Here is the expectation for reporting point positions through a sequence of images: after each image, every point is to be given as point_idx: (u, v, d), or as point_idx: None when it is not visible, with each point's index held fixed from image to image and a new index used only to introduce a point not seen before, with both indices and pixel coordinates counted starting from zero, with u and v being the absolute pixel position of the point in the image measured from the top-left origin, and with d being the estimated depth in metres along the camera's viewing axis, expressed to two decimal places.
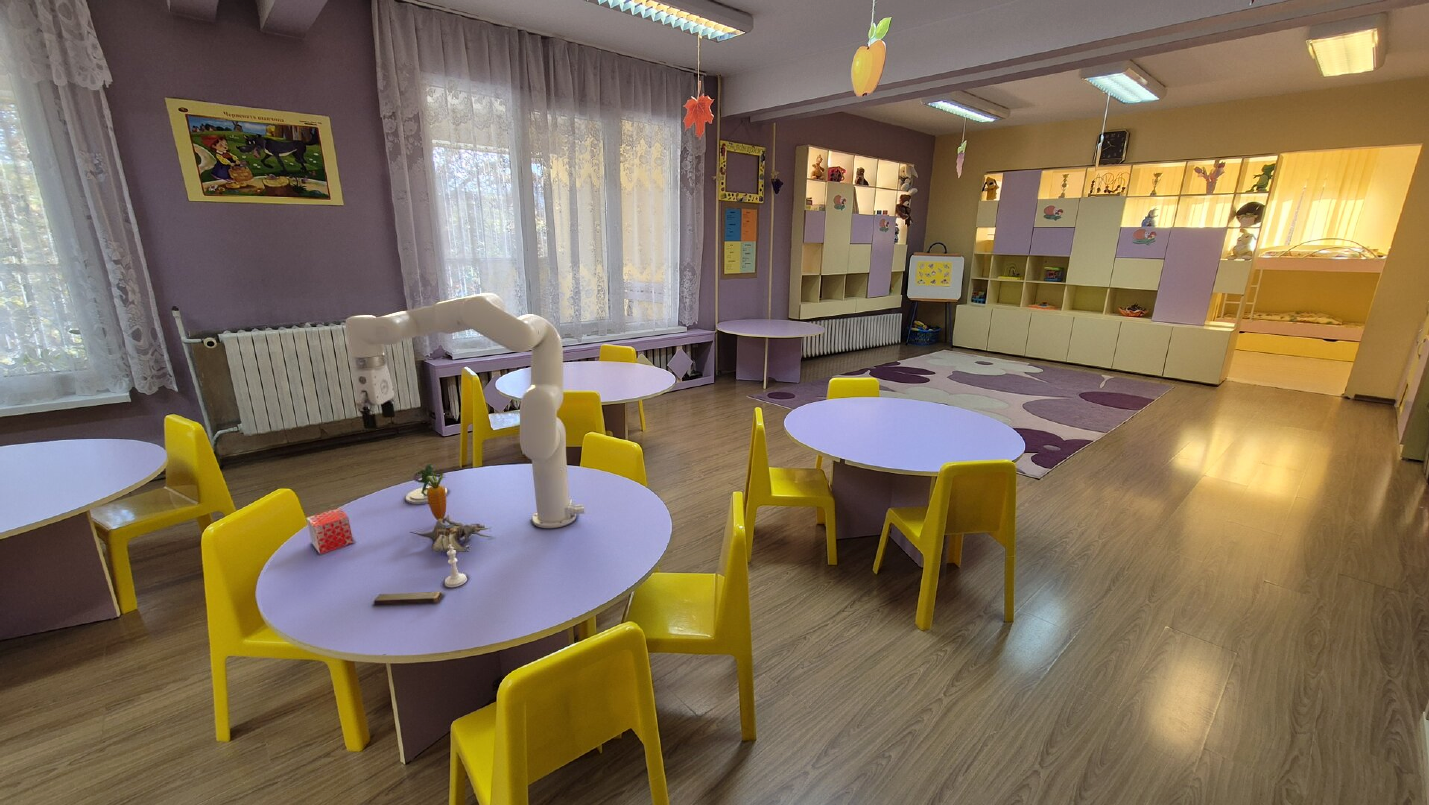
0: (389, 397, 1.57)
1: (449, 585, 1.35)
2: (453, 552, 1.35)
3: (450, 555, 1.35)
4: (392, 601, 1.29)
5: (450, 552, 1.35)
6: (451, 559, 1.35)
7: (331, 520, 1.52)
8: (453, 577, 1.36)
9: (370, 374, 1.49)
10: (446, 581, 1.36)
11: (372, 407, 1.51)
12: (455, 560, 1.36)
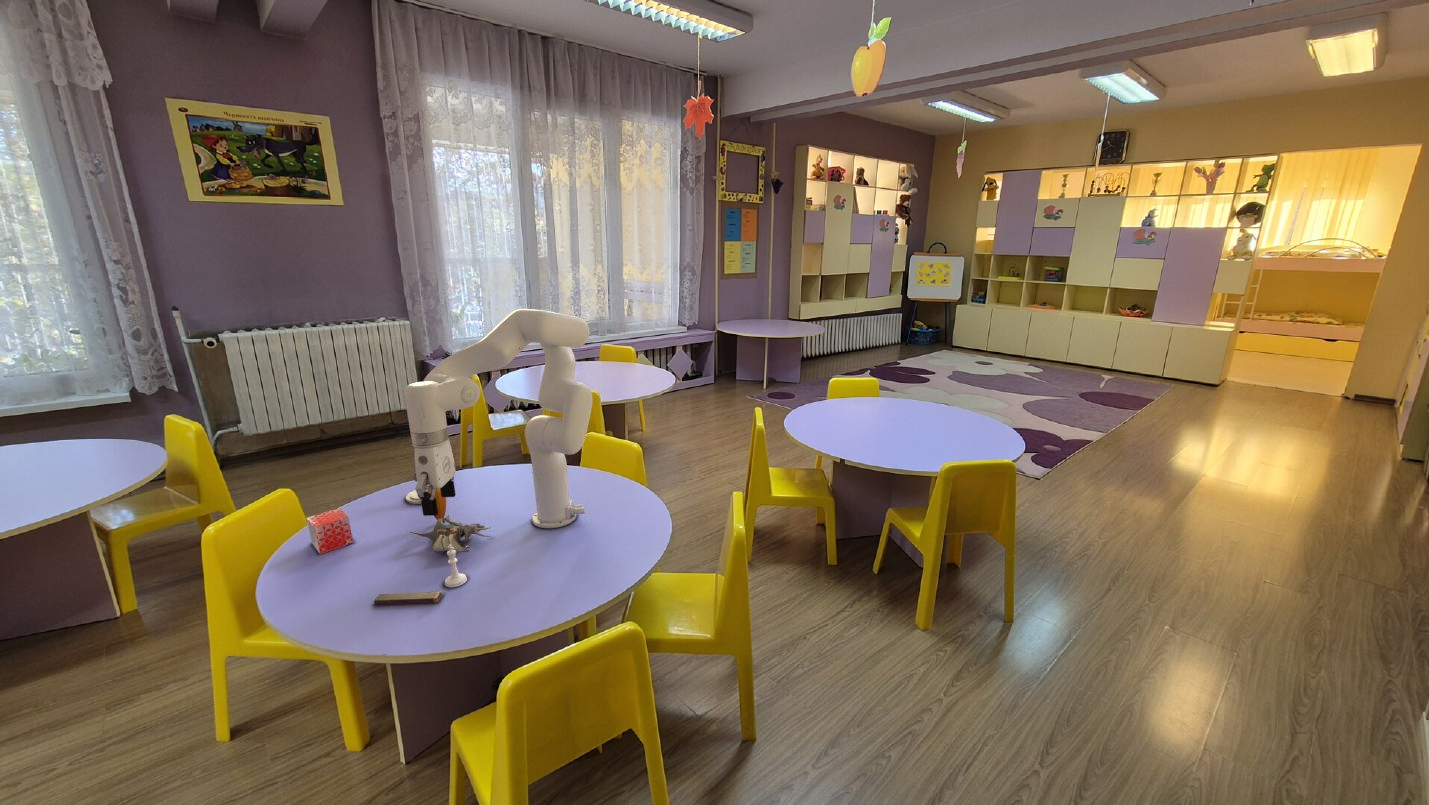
0: (451, 476, 1.33)
1: (449, 585, 1.35)
2: (453, 552, 1.35)
3: (450, 555, 1.35)
4: (392, 601, 1.29)
5: (450, 552, 1.35)
6: (451, 559, 1.35)
7: (331, 520, 1.52)
8: (453, 577, 1.36)
9: (432, 453, 1.25)
10: (446, 581, 1.36)
11: (433, 491, 1.27)
12: (455, 560, 1.36)
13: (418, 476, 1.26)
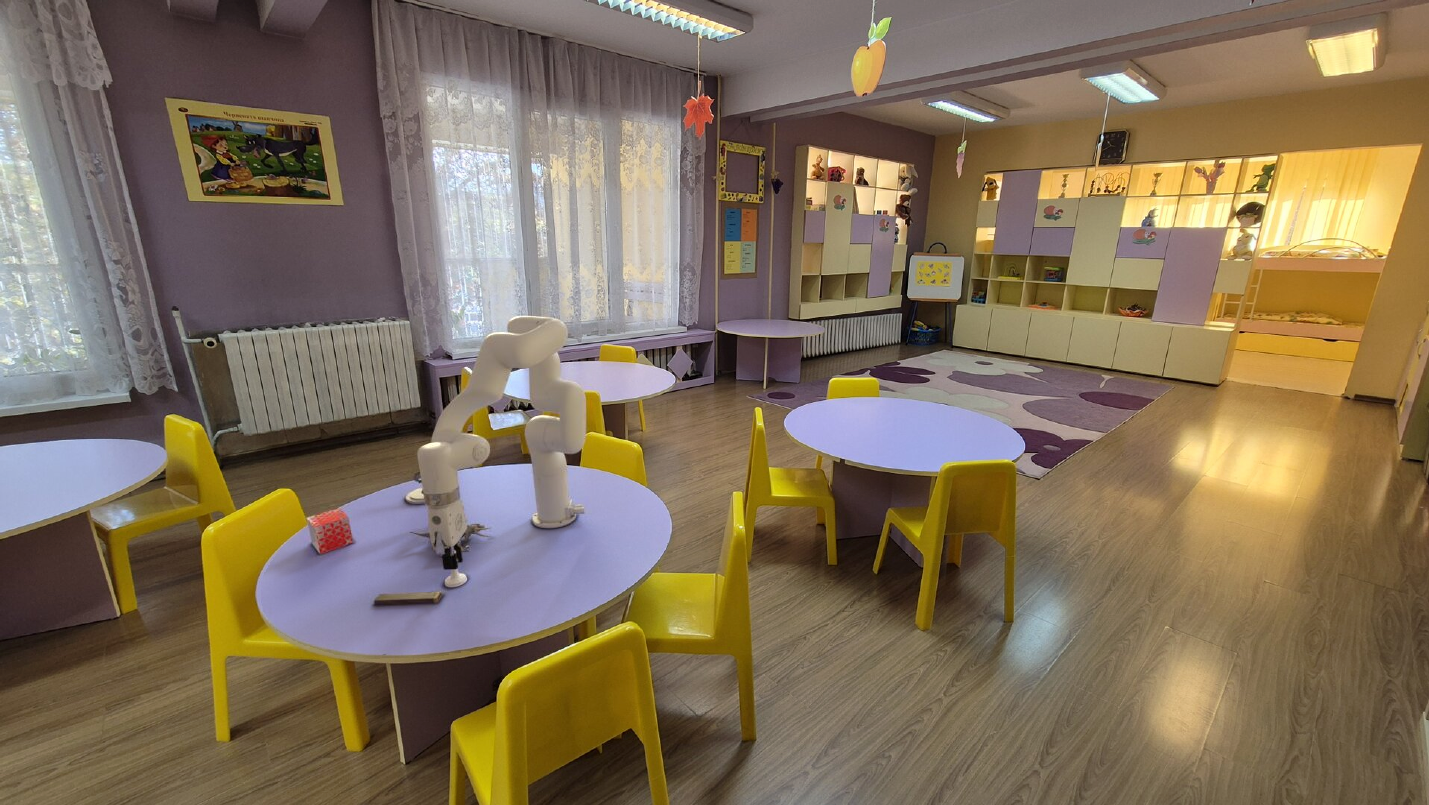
0: (463, 532, 1.36)
1: (449, 585, 1.35)
2: None
3: None
4: (392, 601, 1.29)
5: None
6: None
7: (331, 520, 1.52)
8: (453, 577, 1.36)
9: (445, 513, 1.28)
10: (446, 581, 1.36)
11: (451, 548, 1.33)
12: None
13: (432, 535, 1.29)
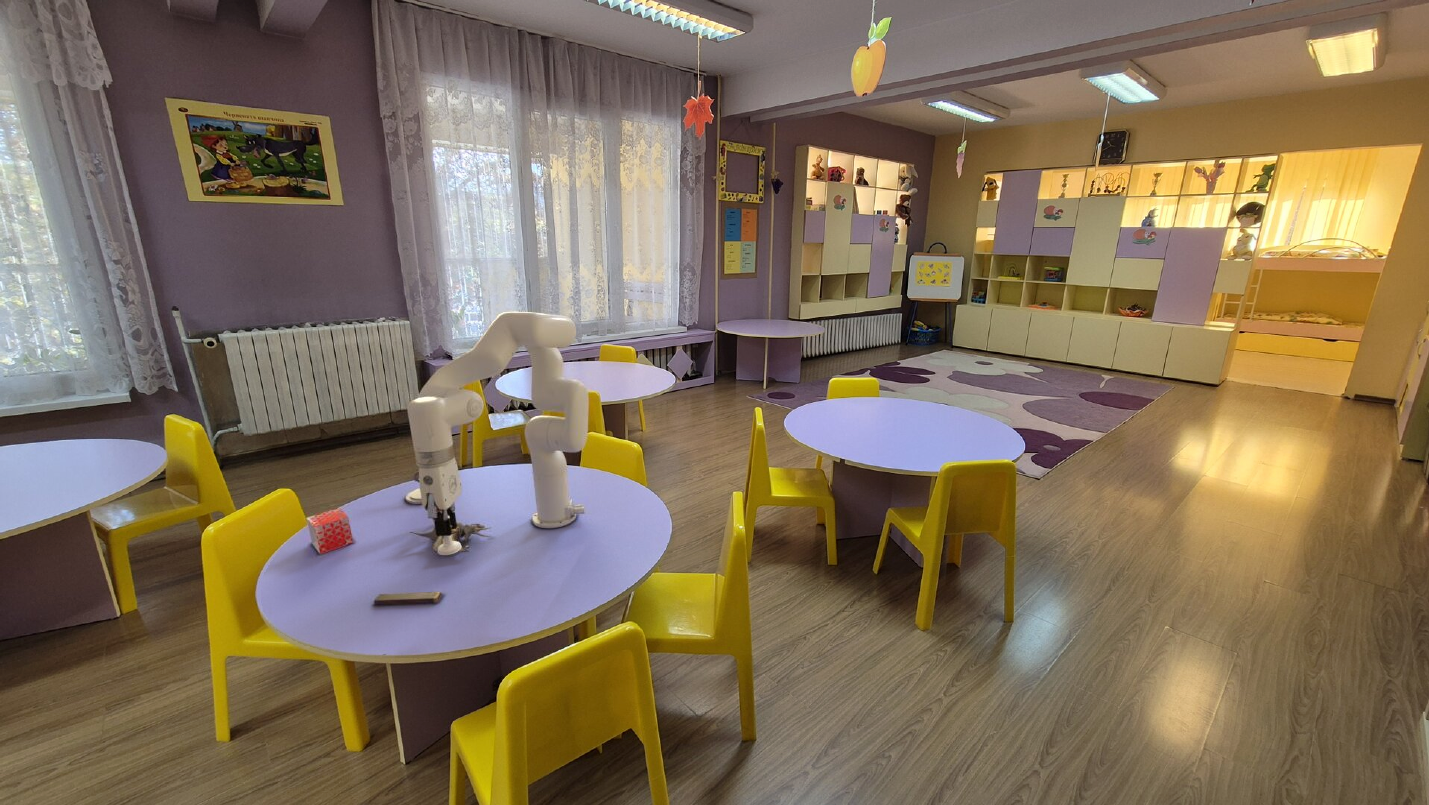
0: (457, 495, 1.26)
1: (442, 553, 1.25)
2: None
3: None
4: (392, 601, 1.29)
5: None
6: None
7: (331, 520, 1.52)
8: (446, 545, 1.26)
9: (437, 473, 1.18)
10: (439, 549, 1.26)
11: (445, 512, 1.23)
12: None
13: (423, 497, 1.19)
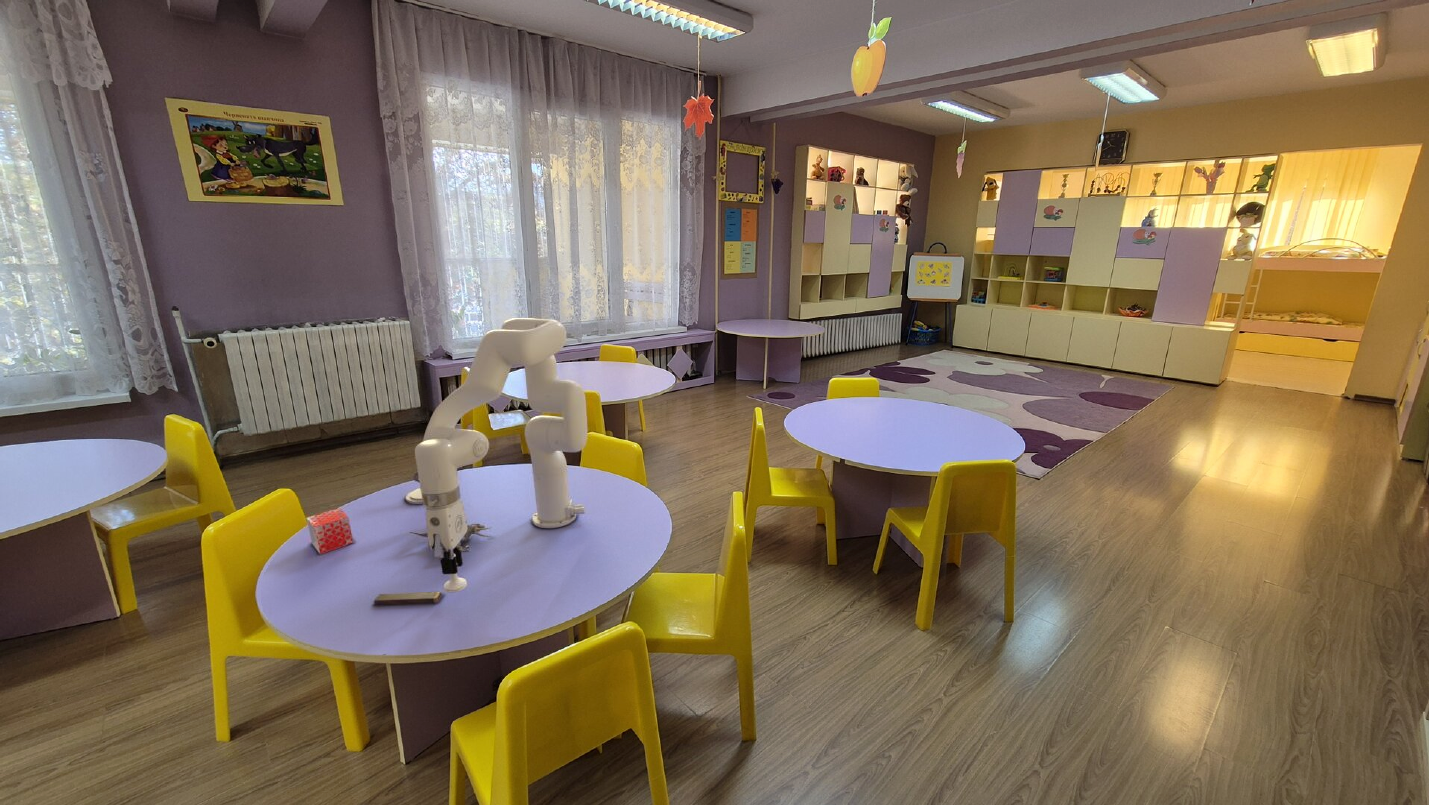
0: (463, 534, 1.28)
1: (448, 590, 1.28)
2: None
3: None
4: (392, 601, 1.29)
5: None
6: None
7: (331, 520, 1.52)
8: (452, 582, 1.29)
9: (444, 514, 1.20)
10: (445, 586, 1.29)
11: (451, 551, 1.25)
12: None
13: (430, 538, 1.21)
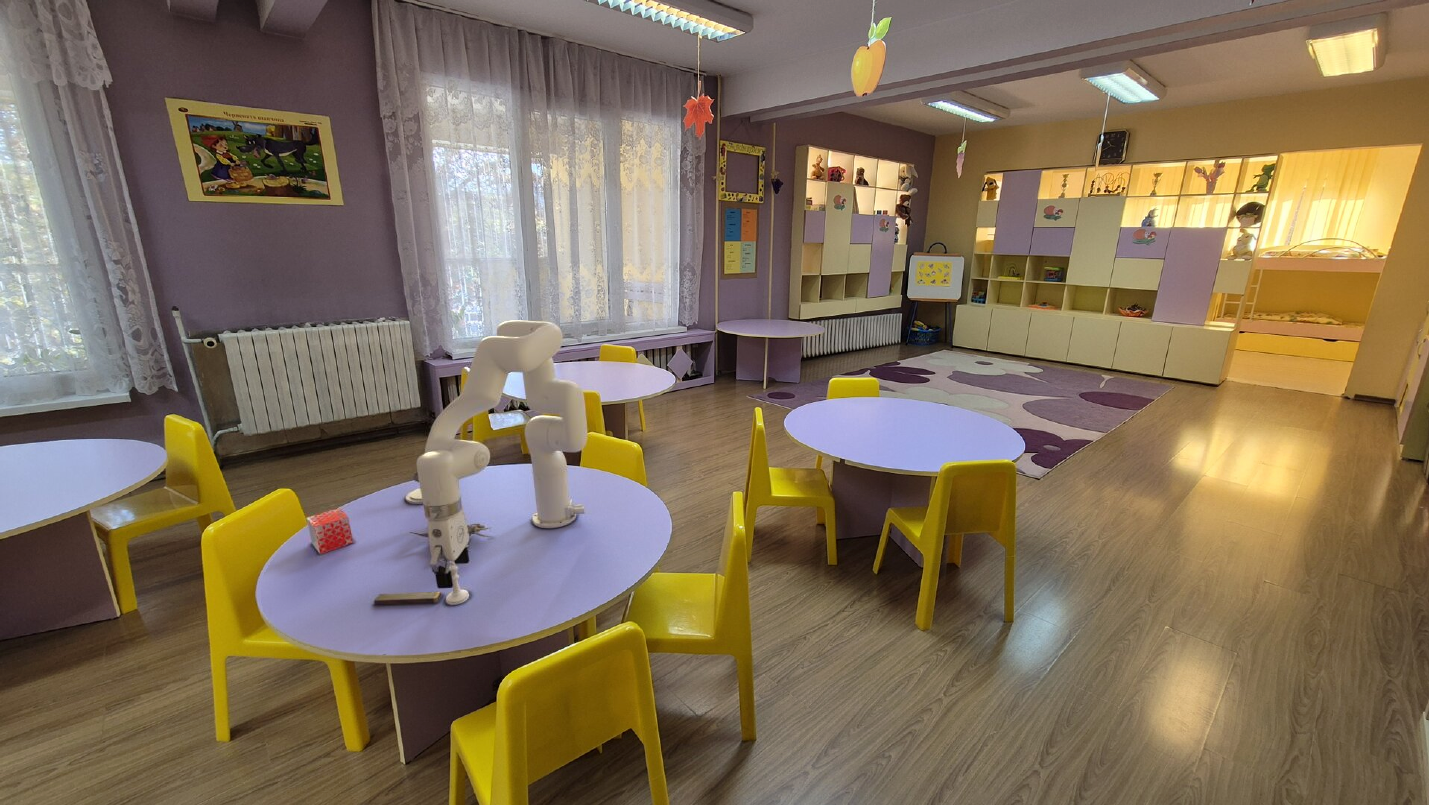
0: (465, 544, 1.29)
1: (450, 602, 1.29)
2: (455, 568, 1.29)
3: (451, 571, 1.28)
4: (392, 601, 1.29)
5: (451, 568, 1.28)
6: (452, 575, 1.29)
7: (331, 520, 1.52)
8: (454, 594, 1.30)
9: (446, 526, 1.21)
10: (447, 598, 1.30)
11: (448, 564, 1.23)
12: (457, 576, 1.29)
13: (432, 549, 1.22)
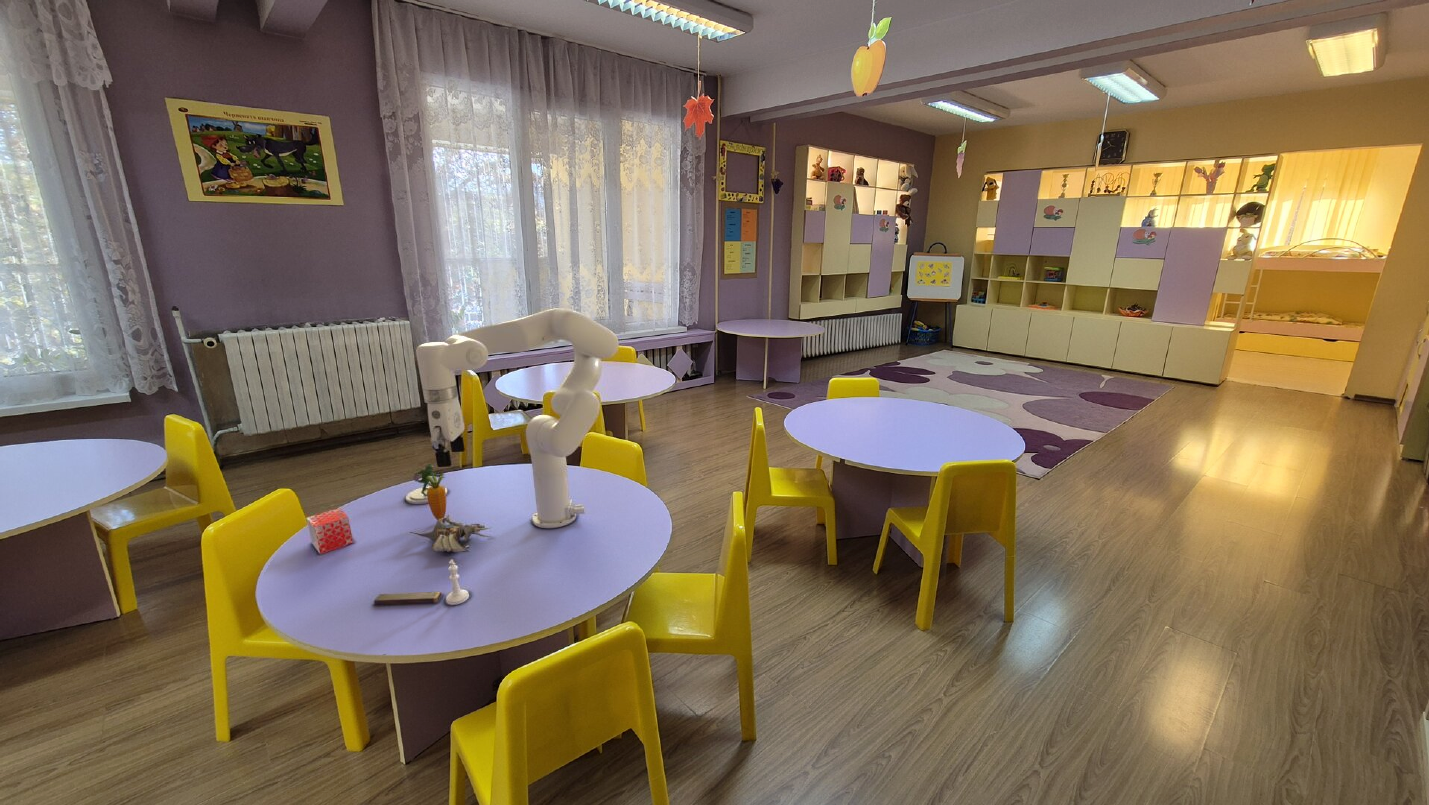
0: (461, 431, 1.43)
1: (450, 602, 1.29)
2: (455, 568, 1.29)
3: (451, 571, 1.28)
4: (392, 601, 1.29)
5: (451, 568, 1.28)
6: (452, 575, 1.29)
7: (331, 520, 1.52)
8: (454, 594, 1.30)
9: (444, 408, 1.35)
10: (447, 598, 1.30)
11: (446, 444, 1.37)
12: (457, 576, 1.29)
13: (432, 430, 1.36)
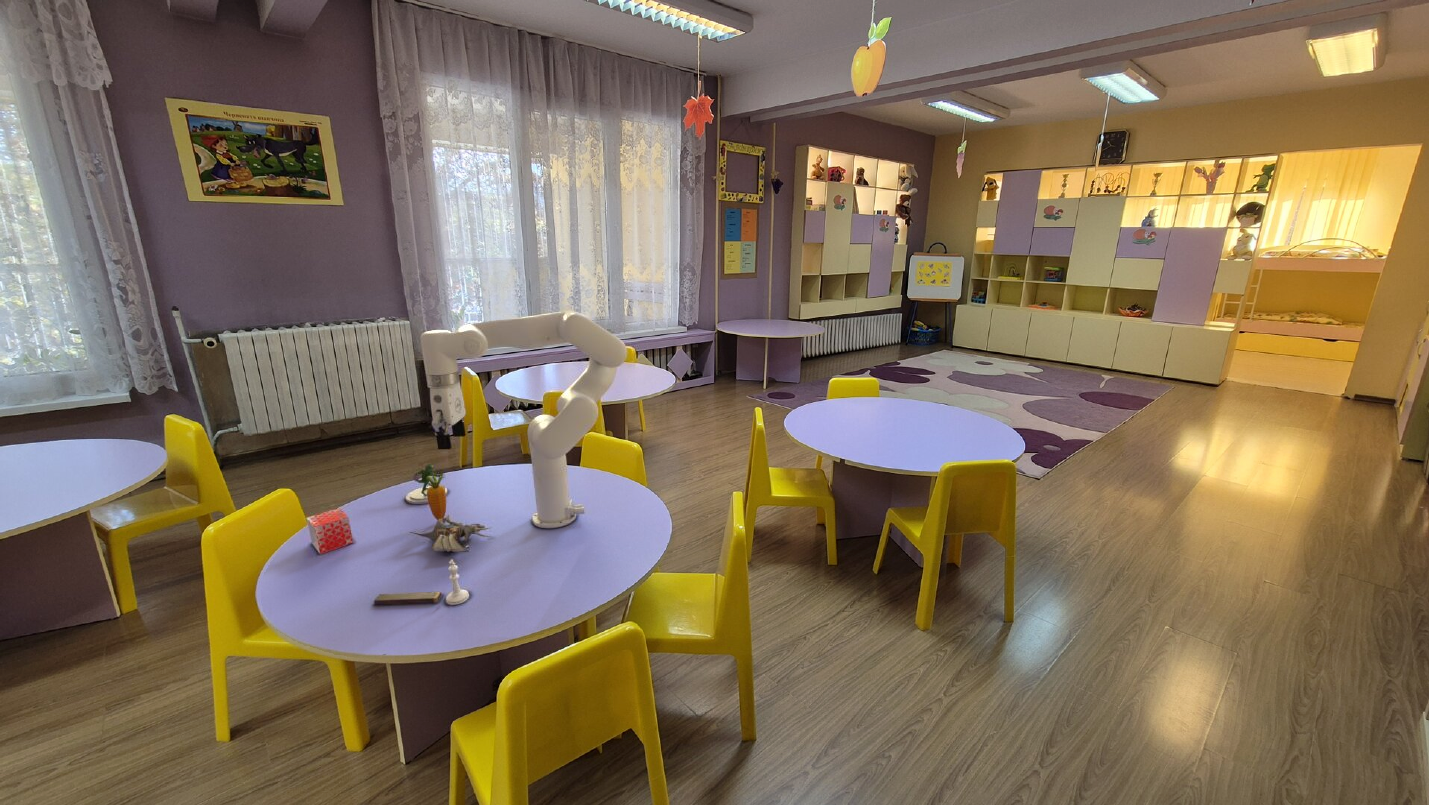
0: (462, 416, 1.49)
1: (450, 602, 1.29)
2: (455, 568, 1.29)
3: (451, 571, 1.28)
4: (392, 601, 1.29)
5: (451, 568, 1.28)
6: (452, 575, 1.29)
7: (331, 520, 1.52)
8: (454, 594, 1.30)
9: (445, 392, 1.42)
10: (447, 598, 1.30)
11: (447, 427, 1.43)
12: (457, 576, 1.29)
13: (433, 413, 1.42)
